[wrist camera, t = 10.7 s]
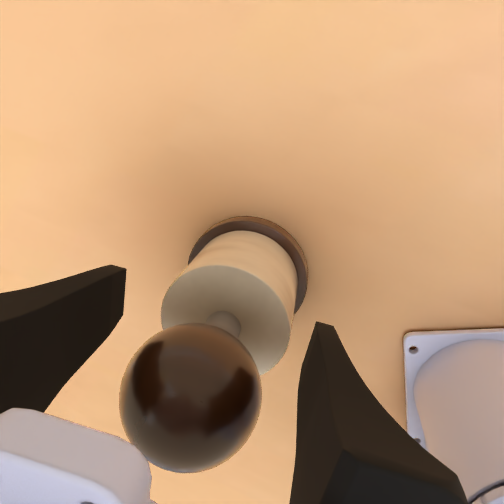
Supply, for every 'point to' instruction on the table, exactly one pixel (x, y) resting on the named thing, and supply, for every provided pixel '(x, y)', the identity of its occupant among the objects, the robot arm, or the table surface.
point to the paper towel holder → (214, 346)
